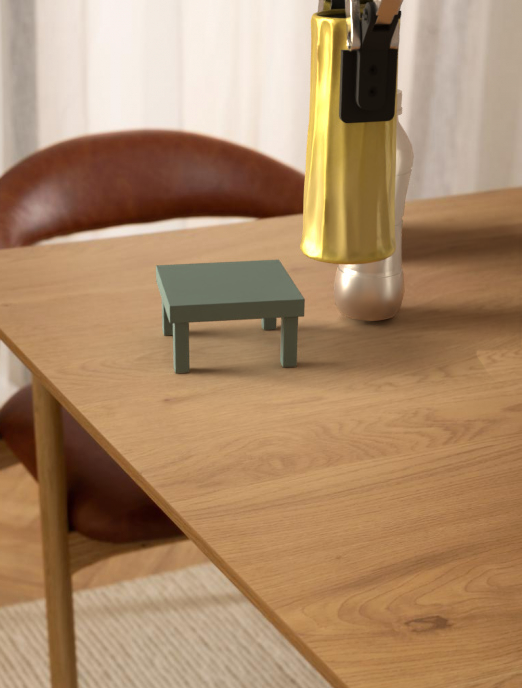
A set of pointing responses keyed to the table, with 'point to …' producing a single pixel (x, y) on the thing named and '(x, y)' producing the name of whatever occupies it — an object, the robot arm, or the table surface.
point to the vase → (345, 163)
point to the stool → (229, 301)
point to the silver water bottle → (386, 275)
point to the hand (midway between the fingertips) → (353, 108)
